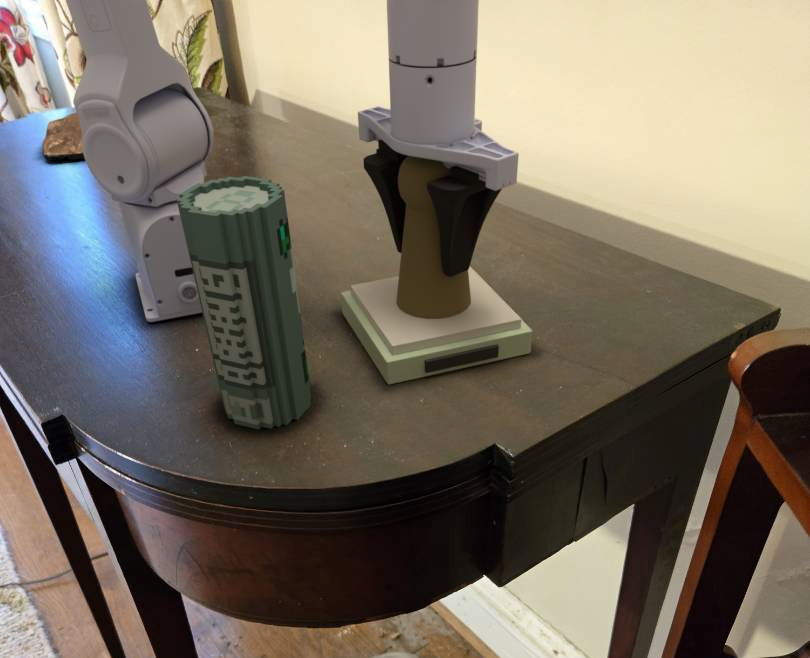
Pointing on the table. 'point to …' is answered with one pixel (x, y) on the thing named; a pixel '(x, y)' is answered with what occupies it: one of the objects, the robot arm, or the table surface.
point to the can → (248, 297)
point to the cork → (425, 249)
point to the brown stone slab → (63, 139)
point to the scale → (433, 331)
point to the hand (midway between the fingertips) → (432, 260)
